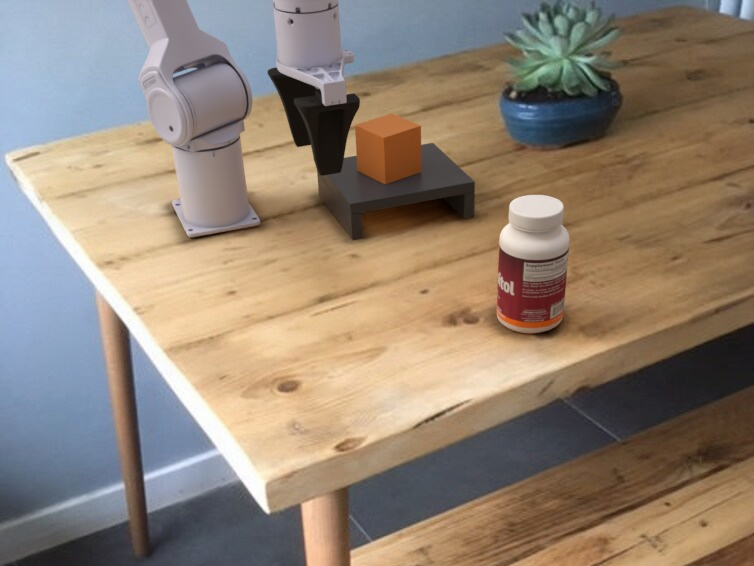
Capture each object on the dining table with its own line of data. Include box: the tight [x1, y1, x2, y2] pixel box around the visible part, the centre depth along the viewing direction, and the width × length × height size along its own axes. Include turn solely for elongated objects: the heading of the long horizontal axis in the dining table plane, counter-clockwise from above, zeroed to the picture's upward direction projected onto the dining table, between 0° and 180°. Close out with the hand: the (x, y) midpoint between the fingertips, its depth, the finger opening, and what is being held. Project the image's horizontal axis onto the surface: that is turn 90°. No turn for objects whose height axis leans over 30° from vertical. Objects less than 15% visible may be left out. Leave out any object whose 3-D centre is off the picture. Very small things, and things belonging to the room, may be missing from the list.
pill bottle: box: [496, 194, 571, 334], centre depth 93 cm, size 6×6×11 cm
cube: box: [354, 113, 422, 185], centre depth 111 cm, size 5×5×5 cm
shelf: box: [316, 142, 476, 241], centre depth 114 cm, size 12×14×4 cm
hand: (317, 158), depth 100 cm, fingers open, 7 cm apart
